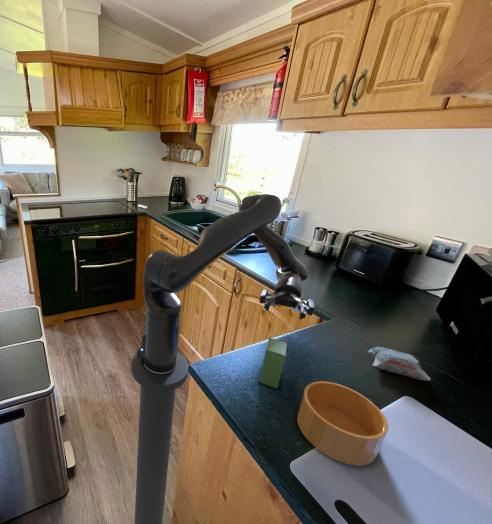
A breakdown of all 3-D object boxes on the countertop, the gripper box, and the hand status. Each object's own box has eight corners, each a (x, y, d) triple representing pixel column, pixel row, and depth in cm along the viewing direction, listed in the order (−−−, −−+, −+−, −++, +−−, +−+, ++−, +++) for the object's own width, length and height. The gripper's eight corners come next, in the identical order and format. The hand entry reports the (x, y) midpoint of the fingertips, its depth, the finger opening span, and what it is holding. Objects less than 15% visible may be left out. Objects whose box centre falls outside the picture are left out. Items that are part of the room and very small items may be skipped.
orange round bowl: (295, 442, 58) (303, 416, 56) (298, 396, 70) (304, 372, 68) (383, 480, 52) (396, 452, 50) (369, 422, 64) (380, 397, 61)
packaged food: (426, 387, 74) (433, 372, 73) (370, 371, 79) (375, 356, 78) (415, 368, 82) (422, 353, 80) (364, 354, 87) (369, 340, 85)
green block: (258, 382, 74) (266, 349, 71) (262, 368, 79) (269, 337, 76) (277, 388, 72) (285, 355, 69) (279, 374, 77) (287, 342, 74)
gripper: (266, 275, 95) (259, 293, 82) (316, 285, 89) (316, 307, 75) (262, 295, 98) (255, 316, 84) (310, 306, 91) (310, 331, 78)
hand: (284, 312), depth 80 cm, fingers open, 8 cm apart
